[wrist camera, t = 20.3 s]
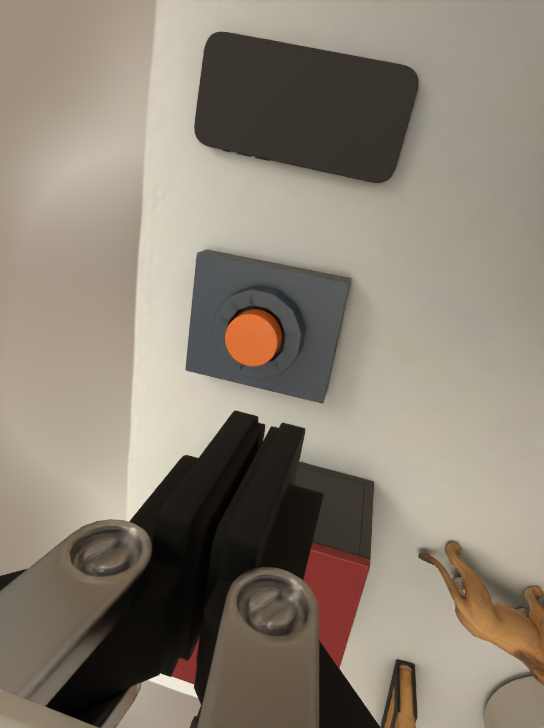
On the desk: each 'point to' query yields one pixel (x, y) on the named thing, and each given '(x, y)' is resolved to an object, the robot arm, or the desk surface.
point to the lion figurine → (496, 614)
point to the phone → (304, 106)
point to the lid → (335, 603)
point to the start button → (253, 337)
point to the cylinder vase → (516, 705)
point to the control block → (285, 303)
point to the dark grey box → (341, 509)
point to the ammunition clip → (401, 698)
